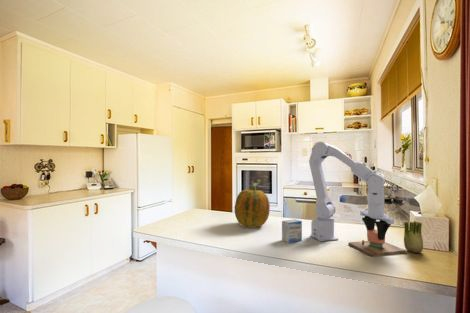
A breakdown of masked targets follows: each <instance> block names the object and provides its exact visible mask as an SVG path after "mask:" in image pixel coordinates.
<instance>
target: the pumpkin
mask: <svg viewBox="0 0 470 313" xmlns="http://www.w3.org/2000/svg"><path fill="white" fill-rule="evenodd" d="M261 181H262V180H261V179H260V178H259V179H256V182H254V183H252V185H251V186H250V189H249V188H245V189H243V190H242V191H240V192H239V193H238V195H237V196H236V200H235V205H234V214H235V218H236V220H237V222H238V224H240V225H241V226H242V227H244V228H259V227H262V226H264V224H265V223H267V220H268V219H269V216H270V209H271V208H270V200H269V197H268V195H267V194H266V193H265V192H263V191H262V190H260V189H258V190H257V188H256V187H257V186H259V185H260V184H261Z"/></svg>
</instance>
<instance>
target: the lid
mask: <svg viewBox="0 0 470 313" xmlns="http://www.w3.org/2000/svg"><path fill="white" fill-rule="evenodd" d="M366 231H367V232H366V237H367V238H366V239H367V240H366V241H369V242H372V243H376V244H384V243H385V242H386V237H385V238H384V240H379V239H378V230H377V228H374V229H373V230H367V229H366Z"/></svg>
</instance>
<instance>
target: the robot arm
mask: <svg viewBox="0 0 470 313" xmlns="http://www.w3.org/2000/svg"><path fill="white" fill-rule="evenodd" d="M328 157H334V158H336V159H338V160H339V161H340V162H342V163H343V164H345V165H346V166H347V167H349V169H350V172H351V173H352V174H354V175H355V176H356V177H358V178H359V179H360V180H362V181H363V182H365V183H366V186H368V189H367V190H368V191H367V210H360V211H359V213H360V214H359V215H360V216H362V217H361V218H362V221H363V223H364V225H365V227H366V231H367V230H373V229H375V226H376V229H377V230H378V239H379V240H384V238H385V239H386V235H387V231H388V230H389V228H390V227H391V225H395V218H393V217H390V216H388V215H386V214H385V186H384V185H385V183H386V180H385V178H384V176H383V175H382V174H381V173H377V172H378V171H377V170H373V169H372V168H371V167H369V166H368V164H367V163H366V162H365V161H364V162H362V161H355V160H354V159H352V158H351V157H350V156H348V155H347V153H345V152H343V150H341V149H339V148H337V147H336V146H335V145H332V144H331V143H328V142H323V141H318V142H316V143H315V144H314V145H313V146H312V147H311V152H310V157H309V160H308V163H309V168H310V172H311V176H312V181H313V186H314V191H315V194H316V201H315V215H316V216H317V217H316V218H313V219H312V220H311V222H310V223H311V227H310V228H311V232H310V233H311V234H310V236H311V237H312V238H314V239H315V240H318V241H319V242H323V241H325V242H326V241H327V242H328V241H334V240H335V241H337V240H339V237H336V236H335V217H334V215H335V213H336V206H335V205H334V204H333V202H332V199H331V197H330V196H329V192H328V188H327V183H326V180H325V175H324V171H323V165H322V163H323V162H324V161H325V159H326V158H328Z"/></svg>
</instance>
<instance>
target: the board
mask: <svg viewBox="0 0 470 313" xmlns="http://www.w3.org/2000/svg"><path fill="white" fill-rule="evenodd" d="M348 246H350V247H352V248H354V249H355V250H357V251H360V252H362V253H363V254H366V255H368V256H370V257H381V256H387V255H388V256H391V255H400V254H406V253H407V250H406V249H403V248H401V247H398V246H395V245H394V244H391V243H388V242H386V241H385V243H384V244H383V248H374V247H371V246H370V245H369V241H368V240H364V239H362V240H361V241H360V240H359V241H352V242H351V241H349V242H348Z"/></svg>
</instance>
